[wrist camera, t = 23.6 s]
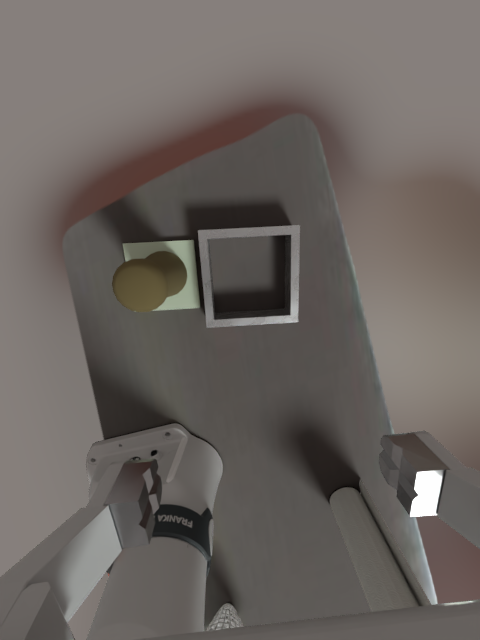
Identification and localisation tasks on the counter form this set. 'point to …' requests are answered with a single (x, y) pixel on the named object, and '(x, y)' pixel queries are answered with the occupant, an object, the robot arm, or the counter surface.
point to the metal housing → (290, 277)
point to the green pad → (187, 254)
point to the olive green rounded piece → (149, 281)
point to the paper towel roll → (375, 553)
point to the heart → (218, 618)
